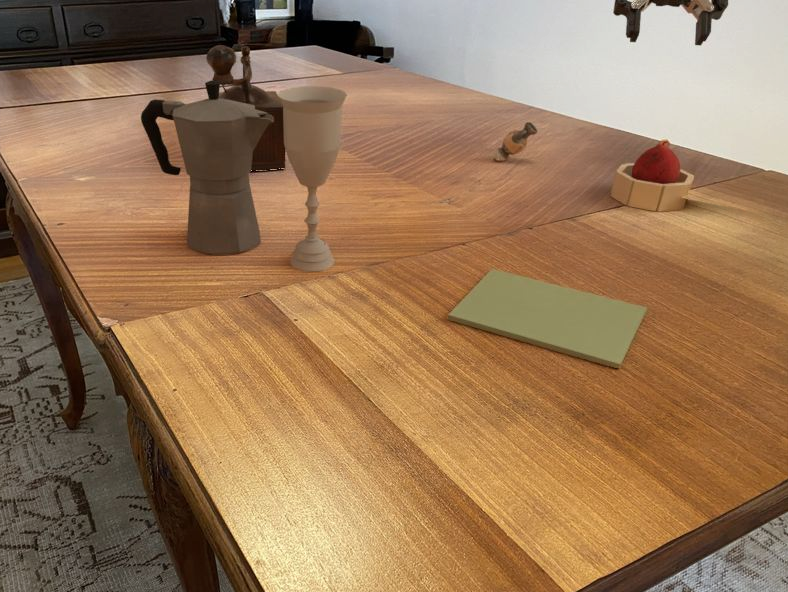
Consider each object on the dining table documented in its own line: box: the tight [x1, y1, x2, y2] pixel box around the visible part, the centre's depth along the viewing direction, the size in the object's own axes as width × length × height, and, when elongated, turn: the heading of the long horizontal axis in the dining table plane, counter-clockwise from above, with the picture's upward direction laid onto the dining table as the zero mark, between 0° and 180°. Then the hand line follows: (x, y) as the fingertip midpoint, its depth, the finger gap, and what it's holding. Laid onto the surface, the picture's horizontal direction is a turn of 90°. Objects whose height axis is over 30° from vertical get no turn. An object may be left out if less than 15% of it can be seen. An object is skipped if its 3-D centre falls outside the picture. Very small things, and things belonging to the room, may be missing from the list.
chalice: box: [277, 85, 348, 272], centre depth 74 cm, size 7×7×18 cm
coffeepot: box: [140, 79, 274, 256], centre depth 79 cm, size 15×9×18 cm, turn 75°
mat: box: [447, 268, 648, 369], centre depth 69 cm, size 16×12×1 cm
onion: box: [632, 138, 681, 184], centre depth 95 cm, size 6×6×8 cm
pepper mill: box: [205, 44, 286, 171], centre depth 102 cm, size 16×11×18 cm
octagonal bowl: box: [610, 162, 695, 213], centre depth 96 cm, size 9×9×4 cm
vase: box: [492, 121, 538, 162], centre depth 109 cm, size 5×5×6 cm
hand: (667, 40), depth 96 cm, fingers open, 8 cm apart
